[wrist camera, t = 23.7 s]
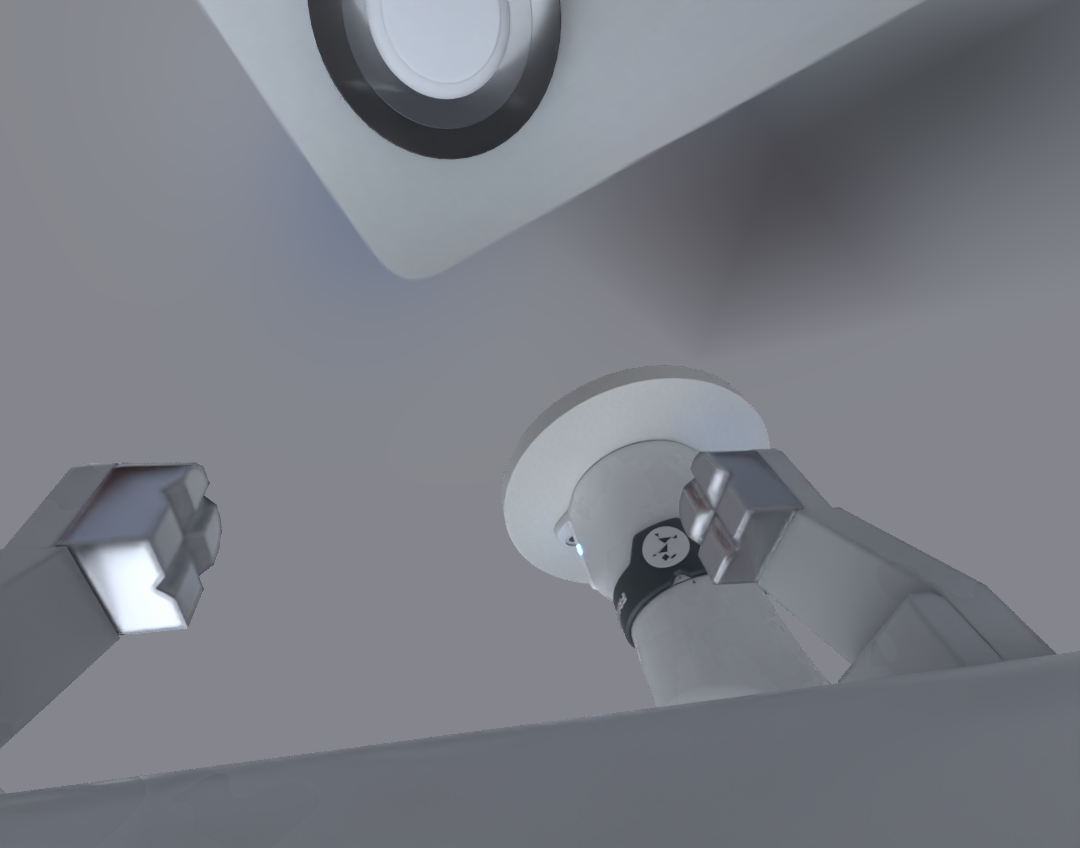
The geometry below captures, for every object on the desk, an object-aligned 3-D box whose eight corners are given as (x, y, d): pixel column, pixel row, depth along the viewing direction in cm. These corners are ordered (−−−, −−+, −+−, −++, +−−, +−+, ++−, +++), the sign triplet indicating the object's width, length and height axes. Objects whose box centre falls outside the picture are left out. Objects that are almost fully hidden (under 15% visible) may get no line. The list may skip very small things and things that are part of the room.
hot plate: (587, 93, 30) (595, 96, 28) (400, 192, 31) (399, 199, 29) (492, -209, 22) (497, -226, 21) (254, -65, 24) (243, -72, 22)
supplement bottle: (490, -51, 24) (522, -95, 16) (494, 88, 27) (523, 107, 19) (368, -57, 23) (341, -107, 15) (387, 87, 26) (372, 107, 19)
